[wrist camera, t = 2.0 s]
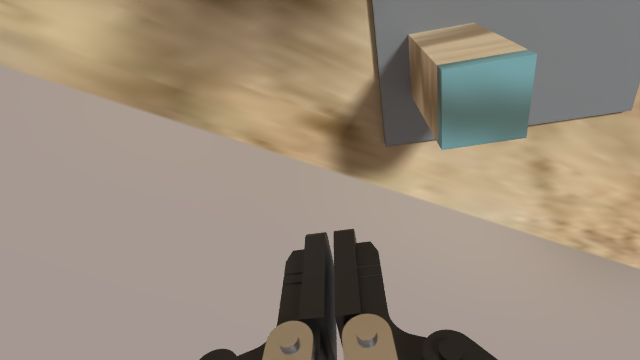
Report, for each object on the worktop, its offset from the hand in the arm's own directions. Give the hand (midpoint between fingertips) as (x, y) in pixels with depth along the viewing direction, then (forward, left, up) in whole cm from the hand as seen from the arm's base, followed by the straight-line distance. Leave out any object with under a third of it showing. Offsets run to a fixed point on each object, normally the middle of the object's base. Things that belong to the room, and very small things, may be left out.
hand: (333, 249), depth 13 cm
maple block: (0, +9, -21) cm, 22 cm away
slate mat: (0, +15, -21) cm, 26 cm away
